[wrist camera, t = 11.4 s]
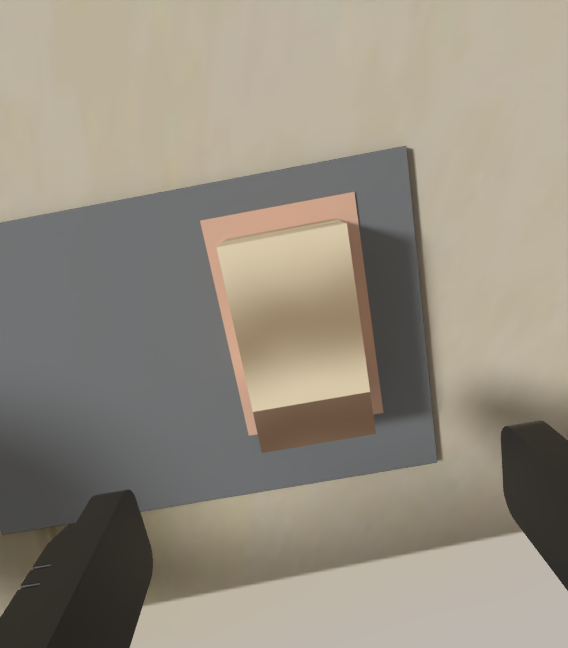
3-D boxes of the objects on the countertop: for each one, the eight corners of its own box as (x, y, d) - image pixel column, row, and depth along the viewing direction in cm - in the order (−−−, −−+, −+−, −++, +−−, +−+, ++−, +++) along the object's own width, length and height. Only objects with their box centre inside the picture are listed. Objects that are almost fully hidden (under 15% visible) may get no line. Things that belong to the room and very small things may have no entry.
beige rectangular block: (226, 238, 20) (216, 247, 17) (334, 218, 20) (346, 223, 17) (263, 415, 23) (261, 453, 20) (361, 398, 23) (376, 433, 19)
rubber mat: (6, 529, 25) (1, 536, 25) (-114, 244, 21) (-123, 246, 20) (434, 458, 24) (437, 463, 24) (403, 146, 20) (406, 145, 19)
